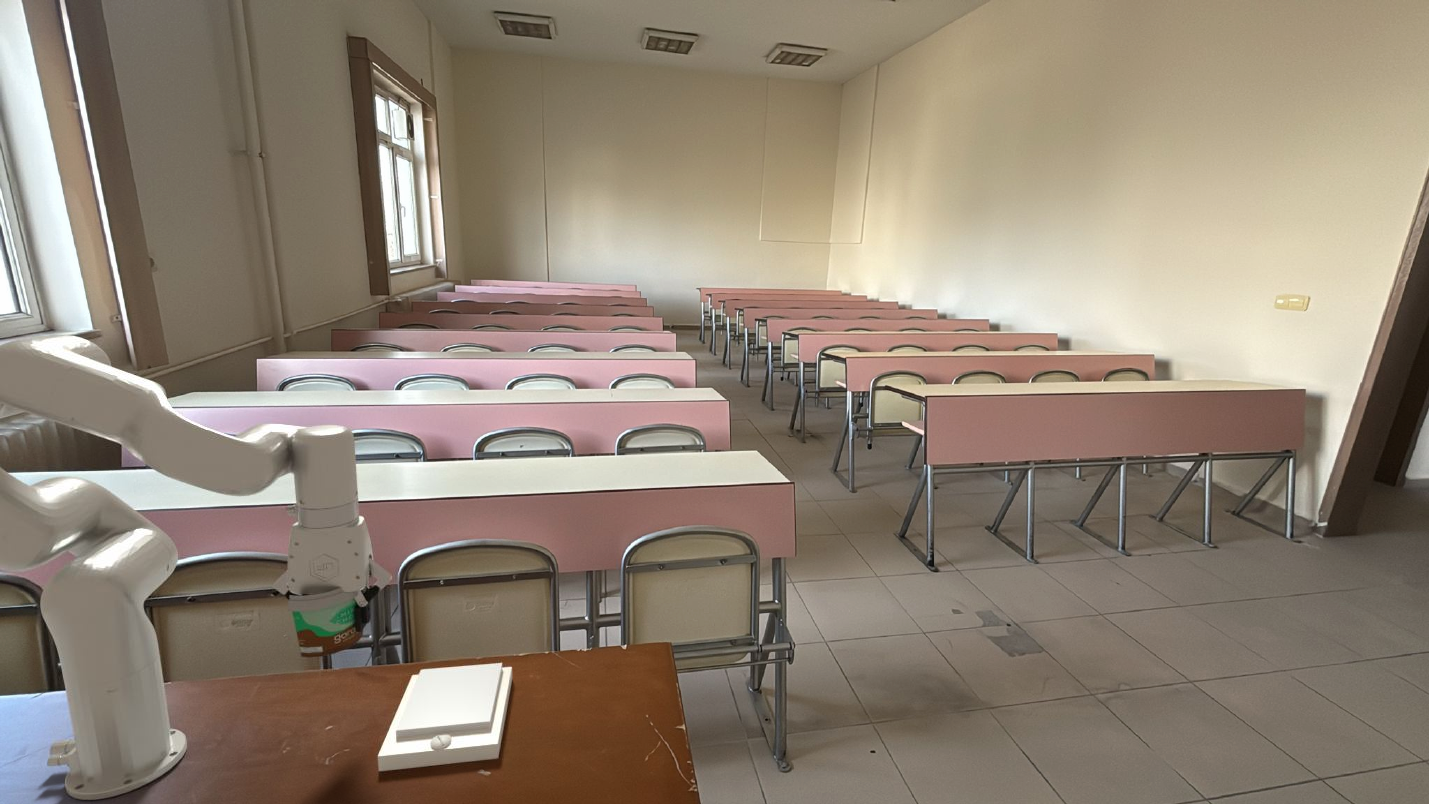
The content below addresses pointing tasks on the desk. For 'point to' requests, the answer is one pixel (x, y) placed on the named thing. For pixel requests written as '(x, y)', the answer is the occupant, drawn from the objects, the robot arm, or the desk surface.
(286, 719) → the desk surface
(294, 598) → the food container
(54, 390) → the robot arm
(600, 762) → the desk surface
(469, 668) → the scale
